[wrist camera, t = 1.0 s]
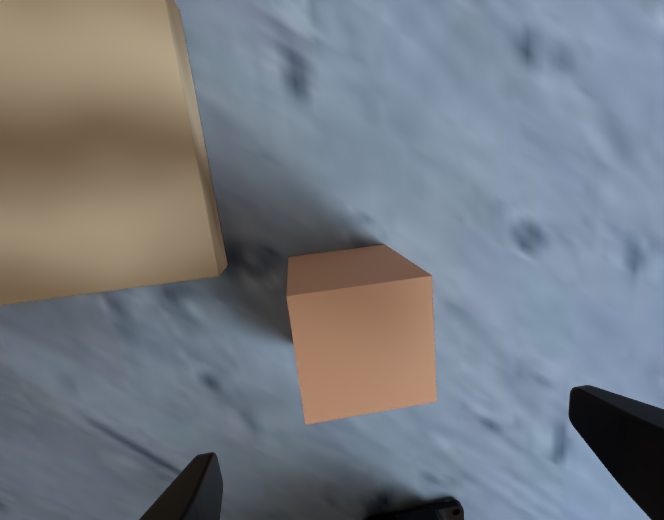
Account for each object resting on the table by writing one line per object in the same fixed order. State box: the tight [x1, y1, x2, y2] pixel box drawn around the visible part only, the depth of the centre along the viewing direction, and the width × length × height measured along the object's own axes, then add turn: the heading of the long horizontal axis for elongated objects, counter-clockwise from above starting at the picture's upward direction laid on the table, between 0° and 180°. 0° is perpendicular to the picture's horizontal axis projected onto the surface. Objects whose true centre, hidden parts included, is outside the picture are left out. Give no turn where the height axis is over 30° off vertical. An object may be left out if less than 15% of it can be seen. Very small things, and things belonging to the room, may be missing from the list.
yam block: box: [286, 245, 437, 425], centre depth 15 cm, size 5×5×6 cm
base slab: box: [0, 0, 228, 305], centre depth 14 cm, size 11×11×2 cm
